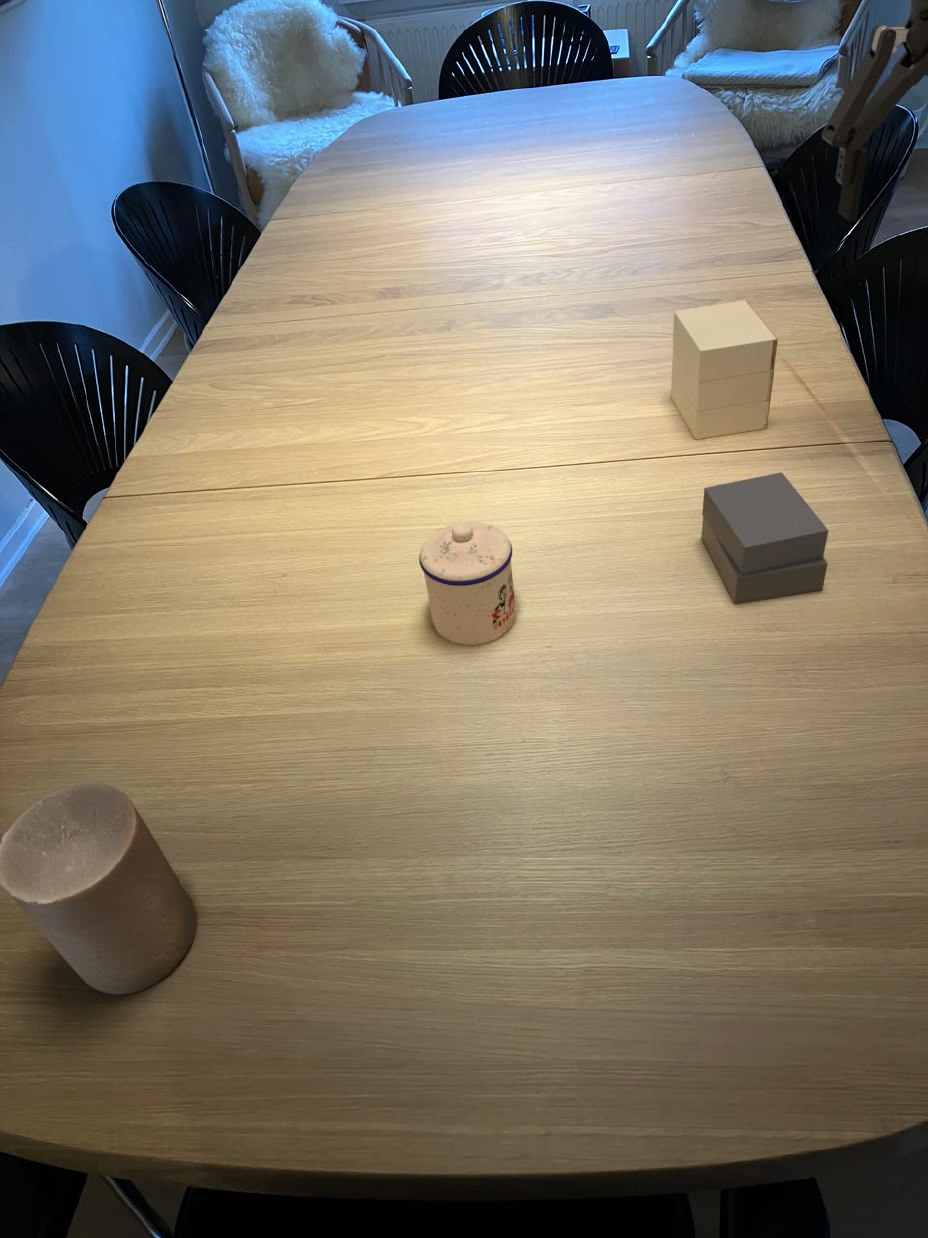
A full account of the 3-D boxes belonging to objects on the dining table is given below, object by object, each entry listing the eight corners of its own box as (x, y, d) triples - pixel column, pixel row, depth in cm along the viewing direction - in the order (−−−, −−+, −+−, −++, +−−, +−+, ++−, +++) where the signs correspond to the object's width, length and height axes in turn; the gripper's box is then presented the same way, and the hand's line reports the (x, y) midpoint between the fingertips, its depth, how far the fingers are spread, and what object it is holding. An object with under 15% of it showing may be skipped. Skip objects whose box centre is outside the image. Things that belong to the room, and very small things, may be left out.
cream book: (743, 329, 117) (746, 299, 115) (774, 370, 109) (778, 338, 106) (672, 340, 117) (673, 310, 115) (698, 382, 109) (700, 350, 106)
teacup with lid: (514, 649, 91) (504, 557, 83) (424, 647, 93) (406, 558, 85) (524, 570, 100) (516, 481, 92) (442, 570, 101) (427, 482, 94)
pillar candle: (200, 871, 76) (137, 758, 66) (193, 983, 69) (121, 875, 59) (83, 895, 76) (2, 784, 66) (64, 1010, 69) (-31, 905, 59)
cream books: (737, 385, 123) (743, 329, 117) (767, 428, 115) (774, 369, 109) (670, 396, 123) (673, 340, 117) (694, 439, 115) (698, 381, 109)
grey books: (781, 524, 101) (790, 470, 96) (822, 590, 92) (833, 535, 88) (698, 537, 101) (702, 484, 96) (731, 604, 92) (737, 550, 88)
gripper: (1083, -78, 82) (1014, 175, 96) (807, -35, 82) (778, 212, 96) (1139, -68, 76) (1056, 199, 91) (842, -22, 76) (806, 238, 90)
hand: (913, 206), depth 93 cm, fingers open, 13 cm apart
